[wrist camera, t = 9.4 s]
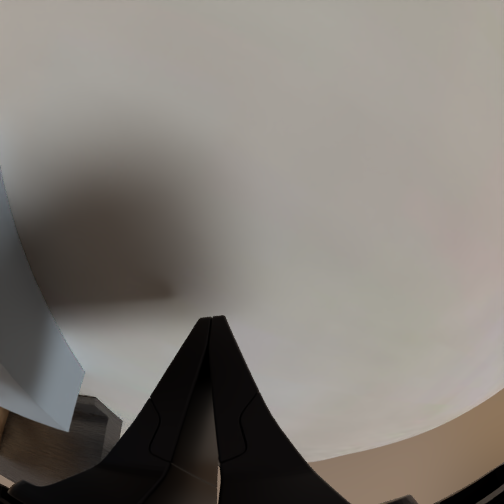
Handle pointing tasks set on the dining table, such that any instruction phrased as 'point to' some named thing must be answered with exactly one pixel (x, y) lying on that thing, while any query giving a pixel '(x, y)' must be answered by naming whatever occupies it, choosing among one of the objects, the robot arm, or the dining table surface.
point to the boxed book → (31, 340)
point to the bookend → (57, 444)
